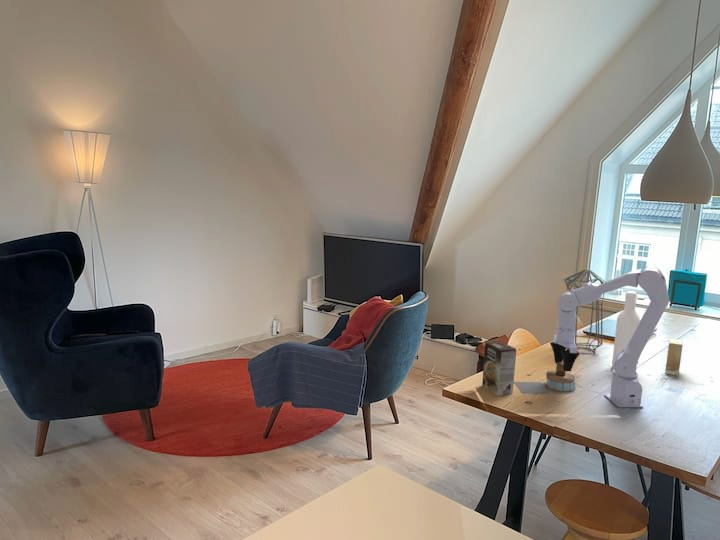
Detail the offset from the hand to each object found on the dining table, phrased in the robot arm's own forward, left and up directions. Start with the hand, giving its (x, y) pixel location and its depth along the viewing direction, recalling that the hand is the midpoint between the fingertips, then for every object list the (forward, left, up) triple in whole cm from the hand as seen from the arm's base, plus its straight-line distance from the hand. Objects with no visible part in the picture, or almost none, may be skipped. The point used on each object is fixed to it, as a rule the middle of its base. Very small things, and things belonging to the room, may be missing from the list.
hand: (562, 366), depth 176 cm
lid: (0, +1, -4) cm, 4 cm away
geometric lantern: (+42, -25, -8) cm, 49 cm away
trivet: (-2, +11, -8) cm, 13 cm away
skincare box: (+17, -49, -8) cm, 52 cm away
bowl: (0, 0, -8) cm, 8 cm away
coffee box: (-4, +23, -8) cm, 25 cm away
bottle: (+20, -32, -8) cm, 38 cm away
